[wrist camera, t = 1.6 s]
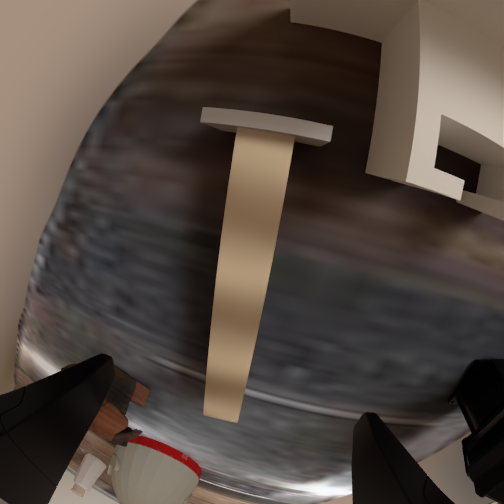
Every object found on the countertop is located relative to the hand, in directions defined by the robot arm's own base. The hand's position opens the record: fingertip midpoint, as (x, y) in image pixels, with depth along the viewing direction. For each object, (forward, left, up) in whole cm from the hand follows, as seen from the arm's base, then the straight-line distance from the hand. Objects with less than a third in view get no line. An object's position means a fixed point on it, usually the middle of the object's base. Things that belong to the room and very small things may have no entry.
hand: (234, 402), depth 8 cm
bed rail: (-2, +1, -13) cm, 13 cm away
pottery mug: (-19, +15, -13) cm, 27 cm away
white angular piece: (+13, -11, -12) cm, 21 cm away
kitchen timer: (-36, +10, -13) cm, 40 cm away
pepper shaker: (-53, +27, -13) cm, 61 cm away
